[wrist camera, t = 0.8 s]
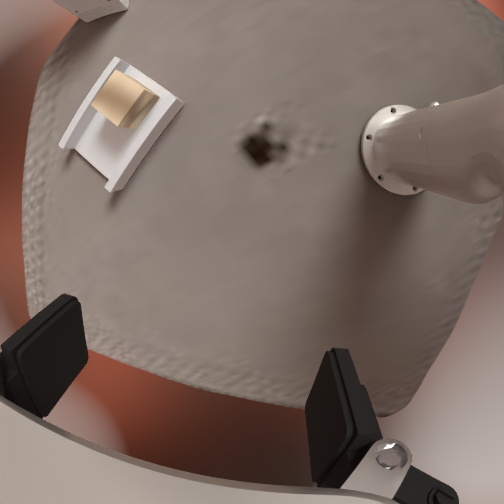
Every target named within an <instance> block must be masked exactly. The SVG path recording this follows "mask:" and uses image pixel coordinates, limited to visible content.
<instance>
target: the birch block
mask: <svg viewBox="0 0 504 504" xmlns="http://www.w3.org/2000/svg"><path fill="white" fill-rule="evenodd" d="M159 98H160V97H159V96H158V95H157V94H155V93H154V92H153V91H151V90H150V89H148V88H147V87H146V86H144V85H143V84H141V83H140V82H139V81H137V80H136V79H134V78H132V77H130V76H128V75H126V74H124V73H122V72H120V71H118V70H115V71H114V72H113V74H112V75H111V76H110V78H109V79H108V80H107V82H106V83H105V85H104V86H103V88H102V89H101V90H100V92H99V93H98V95H97V96H96V98H95V99H94V101H93V102H92V104H91V106H93V107H94V108H95V109H96V110H98V111H99V112H100V113H101V114H103V115H104V116H105V117H106V118H108V119H109V120H110V121H111V122H113V123H114V124H115V125H116V126H118V127H125V128H131V129H137V128H138V126H139V125H140V123H141V122H142V121H143V119H144V118H145V117H146V115H147V114H148V113H149V111H150V110H151V109H152V107H153V106H154V105H155V103H156V102H157V101H158V99H159Z"/></svg>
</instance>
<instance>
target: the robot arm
mask: <svg viewBox="0 0 504 504" xmlns="http://www.w3.org/2000/svg"><path fill="white" fill-rule="evenodd" d="M391 110H392V113H391ZM366 136H368V137H369V139H368V140H367V139H366ZM361 153H362V158H363V162H364V164H365V167H366V169H367V171H368V172H369V174H370V176H371V177H372V178H373V179H374V181H375V182H376V183H377V184H379V185H380V186H381V187H382V188H384V189H386V190H388V191H389V192H392V193H395V194H399V195H413V194H417V193H419V192H421V191H423V190H428V191H431V192H435V193H438V194H441V195H445V196H448V197H451V198H455V199H458V200H461V201H464V202H468V203H473V204H484V203H488V202H491V201H493V200H495V199H497V198H499V197H500V196H502V200H503V207H504V84H502V85H500V86H498V87H496V88H494V89H492V90H489V91H487V92H484V93H481V94H478V95H474V96H471V97H467V98H463V99H459V100H455V101H451V102H446V103H442V104H438V103H437V102H435V101H433V102H432V103H431V104H430V105H429V106H428V107H426V108H422V109H418V110H417V109H415V108H412V107H410V106H406V105H391V106H387V107H384V108H382V109H380V110H378V111H377V112H376V113H374V114H373V115H372V116H371V117H370V119H369V120H368V121H367V123H366V125H365V127H364V130H363V133H362V138H361ZM378 176H380V179H378ZM413 187H414V188H413ZM412 188H413V189H412ZM1 349H2V352H1V353H0V504H459V499H458V495H457V493H456V491H455V490H454V489H453V488H452V487H450V486H449V485H447V484H445V483H443V482H441V481H439V480H437V479H435V478H433V477H431V476H430V475H428V474H426V473H424V472H422V471H420V470H419V469H417V468H415V467H413V466H412V465H411V462H412V455H411V453H410V450H409V449H408V448H407V447H406V445H405V444H403V443H402V442H400V441H398V440H395V439H389V438H387V439H383V437H382V434H381V431H380V428H379V425H378V422H377V419H376V416H375V413H374V410H373V407H372V404H371V401H370V398H369V395H368V393H367V390H366V388H365V386H364V385H361V384H360V381H359V378H358V375H357V373H356V370H355V367H354V364H353V361H352V359H351V356H350V353H349V351H348V349H341V348H332V349H331V350H330V351H326V352H325V355H324V357H323V360H322V363H321V365H320V368H319V371H318V373H317V376H316V379H315V381H314V384H313V386H312V389H311V391H310V394H309V396H308V399H307V401H306V405H305V414H306V424H307V432H308V442H309V453H310V464H311V474H312V481H313V482H317V487H297V486H278V485H267V484H258V483H249V482H240V481H233V480H226V479H220V478H214V477H208V476H203V475H198V474H193V473H189V472H184V471H180V470H175V469H172V468H168V467H164V466H160V465H156V464H153V463H150V462H146V461H142V460H140V459H136V458H133V457H130V456H127V455H124V454H121V453H118V452H115V451H113V450H110V449H108V448H105V447H102V446H100V445H97V444H94V443H92V442H90V441H87V440H85V439H83V438H80V437H78V436H76V435H74V434H71V433H69V432H67V431H65V430H63V429H61V428H59V427H57V426H55V425H53V424H51V423H48V422H47V421H45V420H43V419H42V418H43V417H46V416H48V414H49V413H50V412H51V410H52V409H53V408H54V406H55V405H56V404H57V402H58V401H59V399H60V398H61V397H62V395H63V394H64V393H65V391H66V390H67V389H68V387H69V386H70V385H71V383H72V382H73V381H74V379H75V378H76V377H77V375H78V374H79V373H80V371H81V370H82V369H83V368H84V366H85V365H86V364H87V361H88V351H87V345H86V339H85V333H84V326H83V319H82V311H81V304H80V302H78V299H77V298H76V297H74V296H71V295H67V294H62V295H61V296H59V297H58V298H57V299H55V300H54V301H53V302H52V303H50V304H49V305H48V306H47V307H45V308H44V309H43V310H42V311H40V312H39V313H38V314H37V315H36V316H34V317H33V318H32V319H31V320H30V321H28V322H27V323H26V324H25V325H23V326H22V327H21V328H20V329H19V330H18V331H16V332H15V333H14V334H13V335H12V336H11V337H9V338H8V339H7V340H6V341H5V342H4V343H3V344H2V345H1Z"/></svg>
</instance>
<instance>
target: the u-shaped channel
mask: <svg viewBox="0 0 504 504" xmlns="http://www.w3.org/2000/svg"><path fill="white" fill-rule="evenodd" d="M115 70H118V71H120V72H122V73H124V74H126V75H128V76H130V77H132V78H134V79H136V80H137V81H139V82H140V83H141V84H143V85H144V86H146V87H147V88H148V89H150V90H151V91H153V92H154V93H155V94H157V95H158V96H159V97H160V98H159V99H158V101H157V102H156V103H155V105H154V106H153V107H152V109H151V110H150V111H149V113H148V114H147V115H146V117H145V118H144V119H143V121H142V122H141V123H140V125H139V126H138V128H137V129H131V128H125V127H118V126H116V125H115V124H114V123H113V122H111V121H110V120H109V119H108V118H106V117H105V116H104V115H103V114H101V113H100V112H99V111H98V110H96V109H95V108H94V107H93V106H91V104H92V102H93V101H94V99H95V98H96V96H97V95H98V93H99V92H100V90H101V89H102V88H103V86H104V85H105V83H106V82H107V80H108V79H109V78H110V76H111V75H112V74H113V72H114V71H115ZM184 104H185V103H184V102H182V101H181V100H180V99H178V98H177V97H176V96H174V95H173V94H171V93H170V92H169V91H167V90H166V89H164V88H163V87H162V86H160V85H159V84H157V83H156V82H155V81H153V80H152V79H150V78H149V77H147V76H146V75H144V74H143V73H142V72H140V71H139V70H137V69H136V68H134V67H133V66H131V65H130V64H128V63H127V62H125V61H123V60H121V59H119V58H118V57H116V56H115V57H114V59H113V60H112V61H111V63H110V64H109V65H108V67H107V68H106V69H105V71H104V72H103V73H102V75H101V76H100V78H99V79H98V80H97V82H96V83H95V85H94V86H93V88H92V89H91V91H90V92H89V94H88V95H87V97H86V98H85V100H84V102H83V103H82V105H81V106H80V108H79V110H78V111H77V113H76V115H75V116H74V118H73V120H72V121H71V123H70V125H69V127H68V128H67V130H66V132H65V134H64V135H63V137H62V139H61V141H60V143H59V146H60V147H61V148H62V149H75V150H77V151H78V152H79V153H80V154H81V155H82V156H83V157H84V158H85V159H86V160H88V161H89V162H90V163H91V164H92V165H93V166H94V167H95V168H96V169H98V170H99V171H100V172H101V173H102V174H103V175H104V176H105V177H107V178H108V179H109V180H108V182H107V184H106V185H105V188H106V189H107V190H108V191H109V192H114V191H118V190H121V189H123V188H124V187H125V185H126V184H127V182H128V180H129V179H130V177H131V176H132V174H133V173H134V171H135V170H136V168H137V167H138V165H139V164H140V163H141V161H142V160H143V158H144V157H145V155H146V154H147V153H148V151H149V150H150V148H151V147H152V146H153V144H154V143H155V141H156V140H157V139H158V137H159V136H160V135H161V133H162V132H163V131H164V129H165V128H166V127H167V125H168V124H169V123H170V122H171V120H172V119H173V118H174V117H175V115H176V114H177V113H178V111H179V110H180V109H181V108H182V107H183V105H184Z"/></svg>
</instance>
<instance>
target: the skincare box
mask: <svg viewBox="0 0 504 504" xmlns="http://www.w3.org/2000/svg"><path fill="white" fill-rule="evenodd" d="M53 1H55V2H56V3H58V4H59V5H61V6H62V7H64V8H65V9H67V10H69V11H70V12H72V13H73V14H74V15H76V16H77V17H79V18H80V19H82V20H83V21H85V22H87V23H88V22H90V21H92V20H95V19H97V18H100V17H103V16H106V15H109V14H113V13H116V12H120V11H125V10H127V9H128V6H129V0H53Z"/></svg>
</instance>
